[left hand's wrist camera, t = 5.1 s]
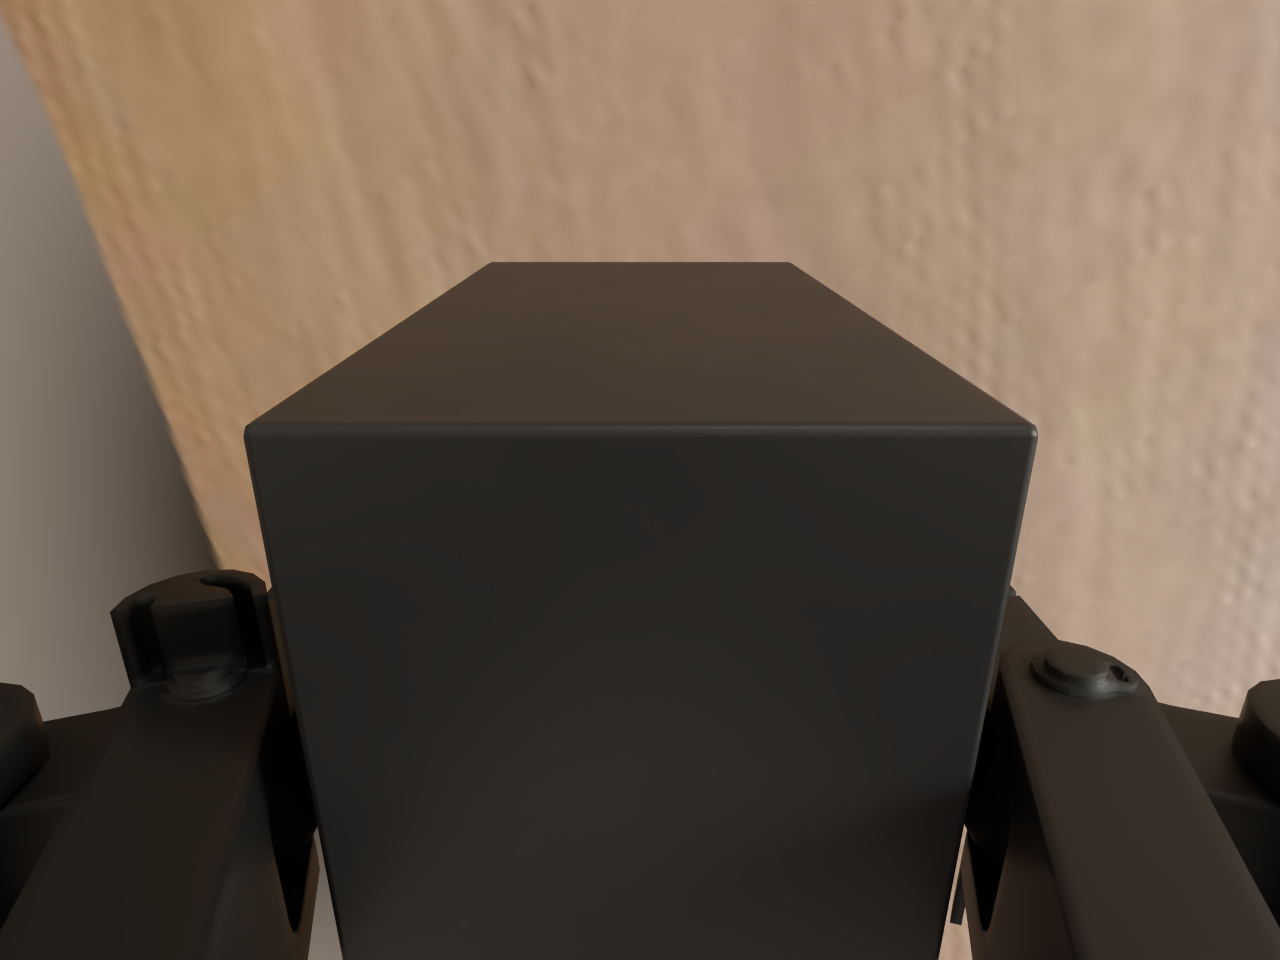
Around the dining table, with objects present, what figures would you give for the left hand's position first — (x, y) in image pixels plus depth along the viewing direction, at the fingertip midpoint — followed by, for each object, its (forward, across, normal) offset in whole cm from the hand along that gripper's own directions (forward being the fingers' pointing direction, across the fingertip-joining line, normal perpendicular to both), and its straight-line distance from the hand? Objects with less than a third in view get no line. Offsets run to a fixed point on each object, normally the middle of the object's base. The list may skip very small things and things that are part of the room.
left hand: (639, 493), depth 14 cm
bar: (+1, 0, -7) cm, 7 cm away
